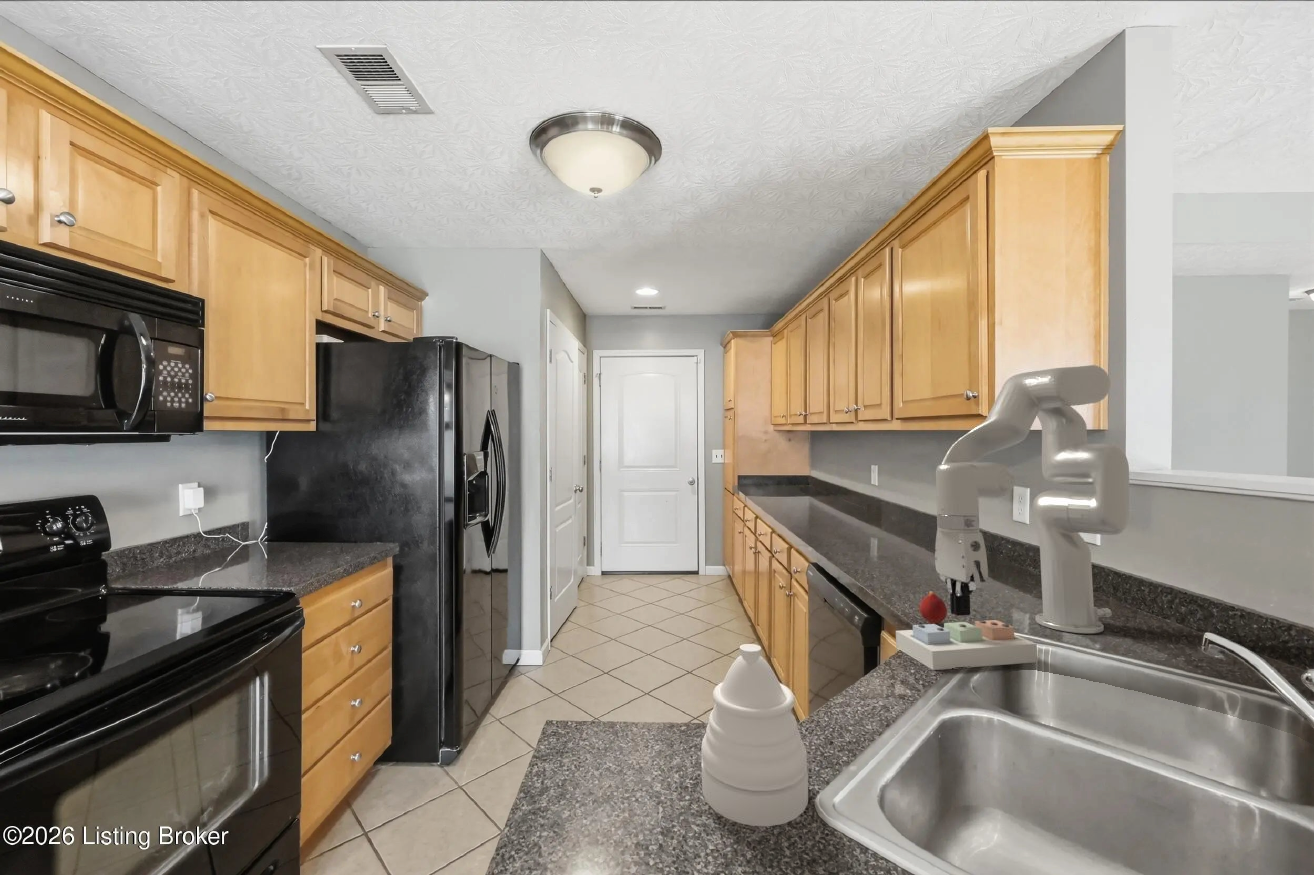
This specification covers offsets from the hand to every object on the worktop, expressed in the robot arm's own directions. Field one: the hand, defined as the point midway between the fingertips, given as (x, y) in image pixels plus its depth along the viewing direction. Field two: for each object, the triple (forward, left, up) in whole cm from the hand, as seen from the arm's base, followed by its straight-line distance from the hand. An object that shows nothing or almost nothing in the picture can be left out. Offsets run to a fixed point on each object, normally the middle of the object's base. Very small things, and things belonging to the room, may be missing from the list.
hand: (960, 614), depth 107 cm
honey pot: (+55, +35, -9) cm, 66 cm away
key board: (0, 0, -8) cm, 8 cm away
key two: (+7, 0, -5) cm, 8 cm away
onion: (-6, -18, -8) cm, 21 cm away
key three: (-7, 0, -6) cm, 9 cm away
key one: (0, 0, -5) cm, 6 cm away
